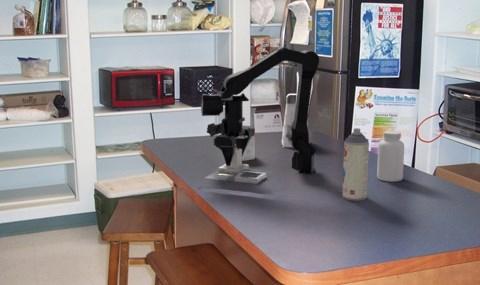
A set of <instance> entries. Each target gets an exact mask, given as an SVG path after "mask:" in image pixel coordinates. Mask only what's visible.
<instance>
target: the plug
mask: <svg viewBox="0 0 480 285" xmlns="http://www.w3.org/2000/svg"><path fill="white" fill-rule="evenodd" d="M242 164H243V161H242V149H237V147H236V149H235V152H234V155H233V158H232V162H231V165H230V166H227V165H226V168H234V169H239V168H241V167H242Z"/></svg>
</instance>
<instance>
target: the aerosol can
mask: <svg viewBox="0 0 480 285" xmlns="http://www.w3.org/2000/svg"><path fill="white" fill-rule="evenodd" d="M369 149H370V143H369V138H366V136H365V135H364V134H363V133H362V132H361V129H360V128H359V127H358V128H353V132H351V134H349V135H348V137H345V138H344V143H343V164H342V166H343V168H342V169H343V172H342V199H343V200H345V201H348V202H363V201H366V200H367V198H368V196H367V195H368V173H369V170H368V169H369V153H370V152H369V151H370V150H369Z"/></svg>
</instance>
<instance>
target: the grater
mask: <svg viewBox="0 0 480 285" xmlns="http://www.w3.org/2000/svg"><path fill="white" fill-rule="evenodd" d="M289 96H297V93H288V94H287V95H286V98H285V99H286V101H285V102H286V104H285V110H284V118H283V119H284V120H283V127H282V134H281V145H283V146H282V148H293V147H292V146H291V145H290V144H289V143H288V138H287V137H286V135H287V125H290V126H291V125H292V123H293V121H294V116H295V107H296V103H288V97H289ZM308 121H309V120H308V119H307V126H308V127H309V122H308ZM308 132H309V130H308ZM309 143H310V141H309ZM310 144H311V143H310Z"/></svg>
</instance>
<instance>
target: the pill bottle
mask: <svg viewBox="0 0 480 285" xmlns="http://www.w3.org/2000/svg"><path fill="white" fill-rule="evenodd" d="M382 134H383V135H382V136H383V137H382V140H380V141H379V142H378V145H377V146H378V147H377V168H376V169H377V170H376V178H377V179H378V180H380V181H384V182H391V183H392V182H400V181H402V180H403V177H404V163H405V161H404V160H405V144H404V142H403V141H402V140H401V137H402V133H401V132H400V131H396V130H394V131H393V130H387V131H386V130H385V131H383V133H382Z"/></svg>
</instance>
